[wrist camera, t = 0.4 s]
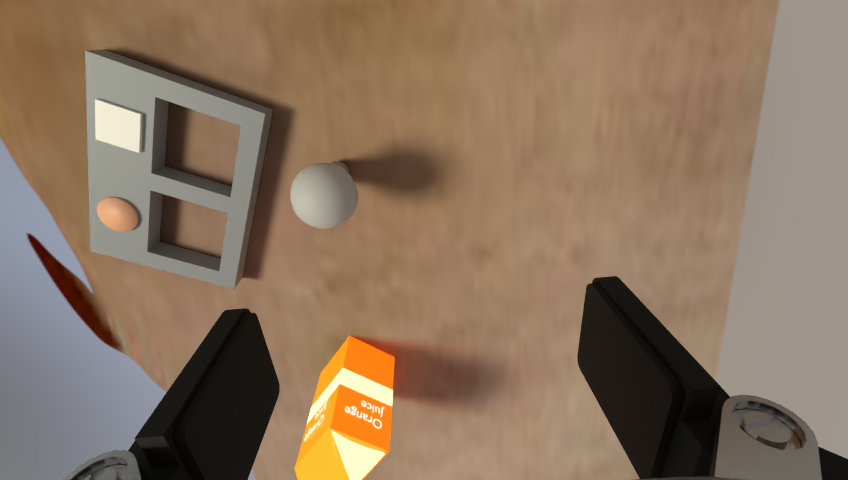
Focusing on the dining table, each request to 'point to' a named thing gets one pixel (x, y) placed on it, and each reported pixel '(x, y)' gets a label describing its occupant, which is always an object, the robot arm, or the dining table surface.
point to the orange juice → (349, 415)
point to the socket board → (163, 167)
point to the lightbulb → (324, 195)
